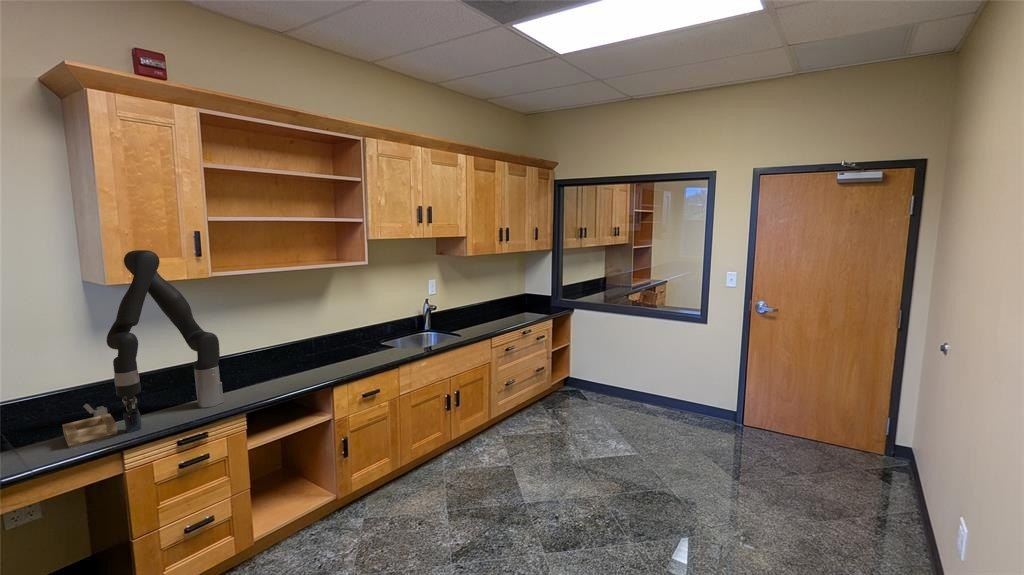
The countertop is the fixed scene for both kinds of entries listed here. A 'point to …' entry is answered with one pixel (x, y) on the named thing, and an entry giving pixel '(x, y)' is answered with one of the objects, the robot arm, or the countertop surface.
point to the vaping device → (127, 422)
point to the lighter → (97, 412)
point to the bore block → (89, 430)
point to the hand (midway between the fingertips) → (132, 424)
